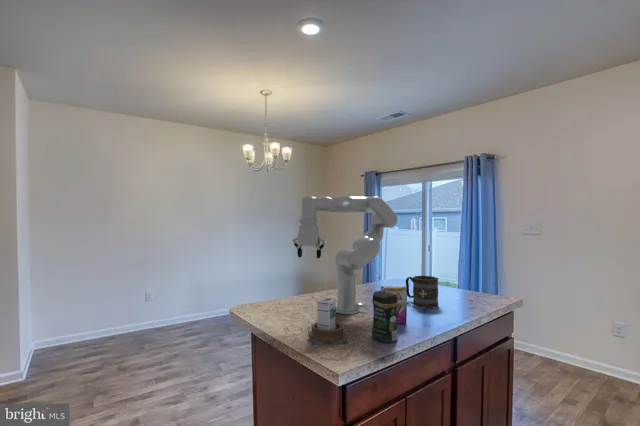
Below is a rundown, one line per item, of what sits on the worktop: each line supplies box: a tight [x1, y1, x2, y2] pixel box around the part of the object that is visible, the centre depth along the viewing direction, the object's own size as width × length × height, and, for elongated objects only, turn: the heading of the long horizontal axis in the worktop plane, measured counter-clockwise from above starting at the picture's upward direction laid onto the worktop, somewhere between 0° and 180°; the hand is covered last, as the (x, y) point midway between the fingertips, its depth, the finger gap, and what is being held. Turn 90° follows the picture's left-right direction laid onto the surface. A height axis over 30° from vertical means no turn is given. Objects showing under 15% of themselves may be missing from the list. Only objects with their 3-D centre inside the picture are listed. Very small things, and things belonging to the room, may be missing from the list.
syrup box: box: [316, 297, 337, 330], centre depth 133 cm, size 6×6×14 cm
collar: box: [308, 321, 349, 346], centre depth 133 cm, size 14×14×4 cm
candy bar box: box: [380, 285, 408, 325], centre depth 151 cm, size 11×5×16 cm, turn 100°
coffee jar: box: [371, 290, 398, 344], centre depth 131 cm, size 10×8×19 cm
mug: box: [405, 275, 439, 309], centre depth 184 cm, size 20×14×15 cm
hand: (309, 257), depth 161 cm, fingers open, 9 cm apart
